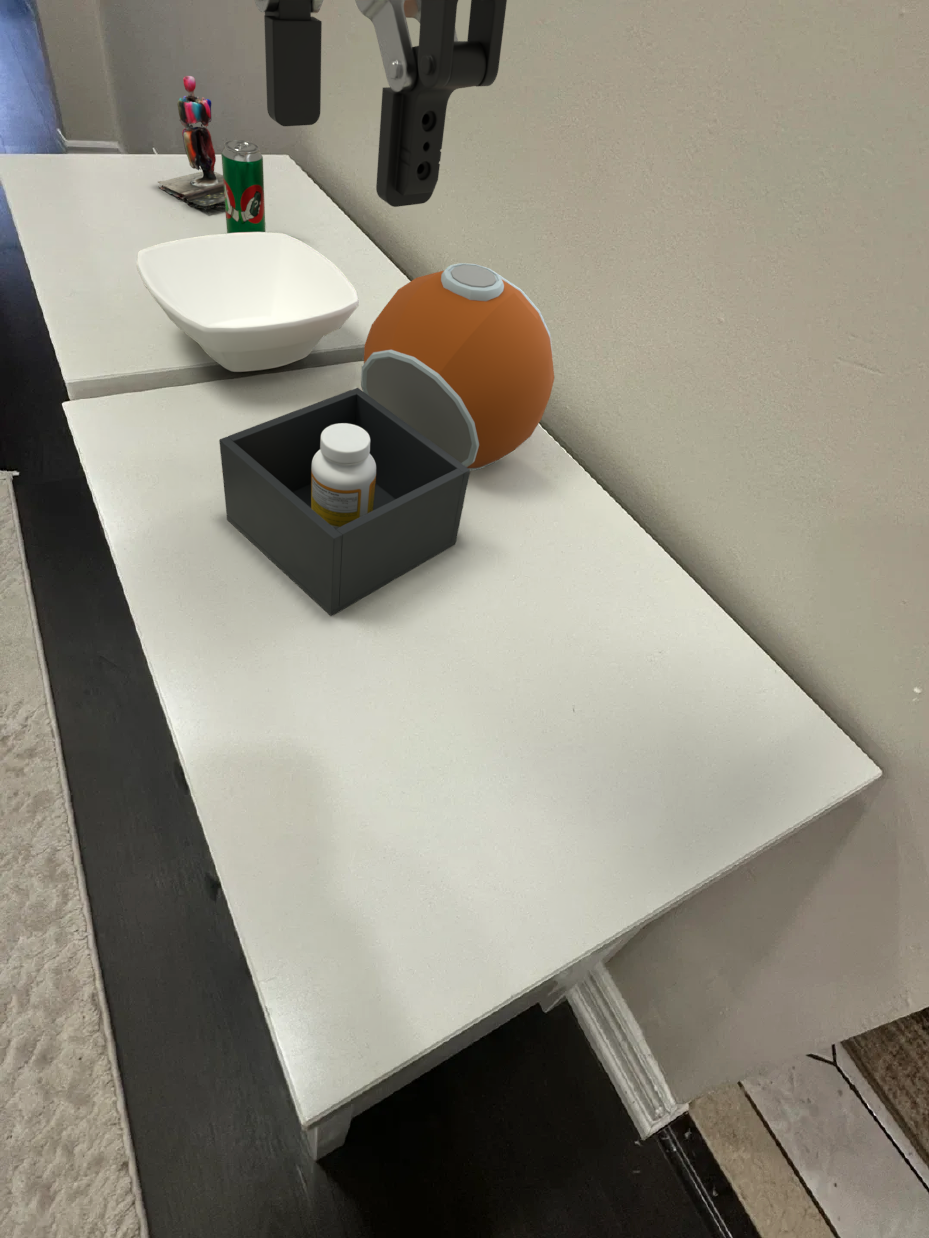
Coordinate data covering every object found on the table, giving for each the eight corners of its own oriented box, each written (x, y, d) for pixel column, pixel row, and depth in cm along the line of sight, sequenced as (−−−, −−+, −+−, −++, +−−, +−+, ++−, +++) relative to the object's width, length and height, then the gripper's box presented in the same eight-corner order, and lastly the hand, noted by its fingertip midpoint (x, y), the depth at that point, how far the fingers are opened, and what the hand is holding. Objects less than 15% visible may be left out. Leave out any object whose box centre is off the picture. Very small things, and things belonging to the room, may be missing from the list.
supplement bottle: (344, 499, 72) (348, 410, 64) (383, 530, 70) (392, 442, 62) (298, 522, 69) (297, 431, 61) (338, 556, 67) (342, 465, 59)
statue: (160, 197, 113) (134, 74, 103) (212, 184, 119) (193, 66, 108) (206, 215, 108) (184, 88, 98) (258, 201, 114) (243, 79, 103)
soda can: (270, 240, 107) (267, 144, 98) (259, 254, 103) (254, 156, 94) (235, 232, 107) (228, 135, 98) (222, 246, 103) (214, 147, 94)
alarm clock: (563, 440, 85) (609, 287, 72) (477, 514, 74) (513, 349, 61) (425, 369, 90) (444, 215, 78) (325, 429, 79) (329, 261, 67)
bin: (331, 616, 63) (334, 539, 56) (226, 519, 68) (218, 439, 62) (455, 544, 71) (470, 469, 64) (353, 463, 76) (357, 387, 70)
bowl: (203, 419, 77) (194, 340, 71) (126, 322, 87) (113, 245, 81) (377, 377, 87) (383, 305, 81) (291, 294, 97) (290, 224, 91)
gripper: (115, -574, 21) (183, 105, 33) (408, -625, 15) (361, 246, 26) (349, -480, 25) (334, 99, 37) (666, -487, 18) (523, 221, 30)
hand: (346, 160), depth 32 cm, fingers open, 8 cm apart
